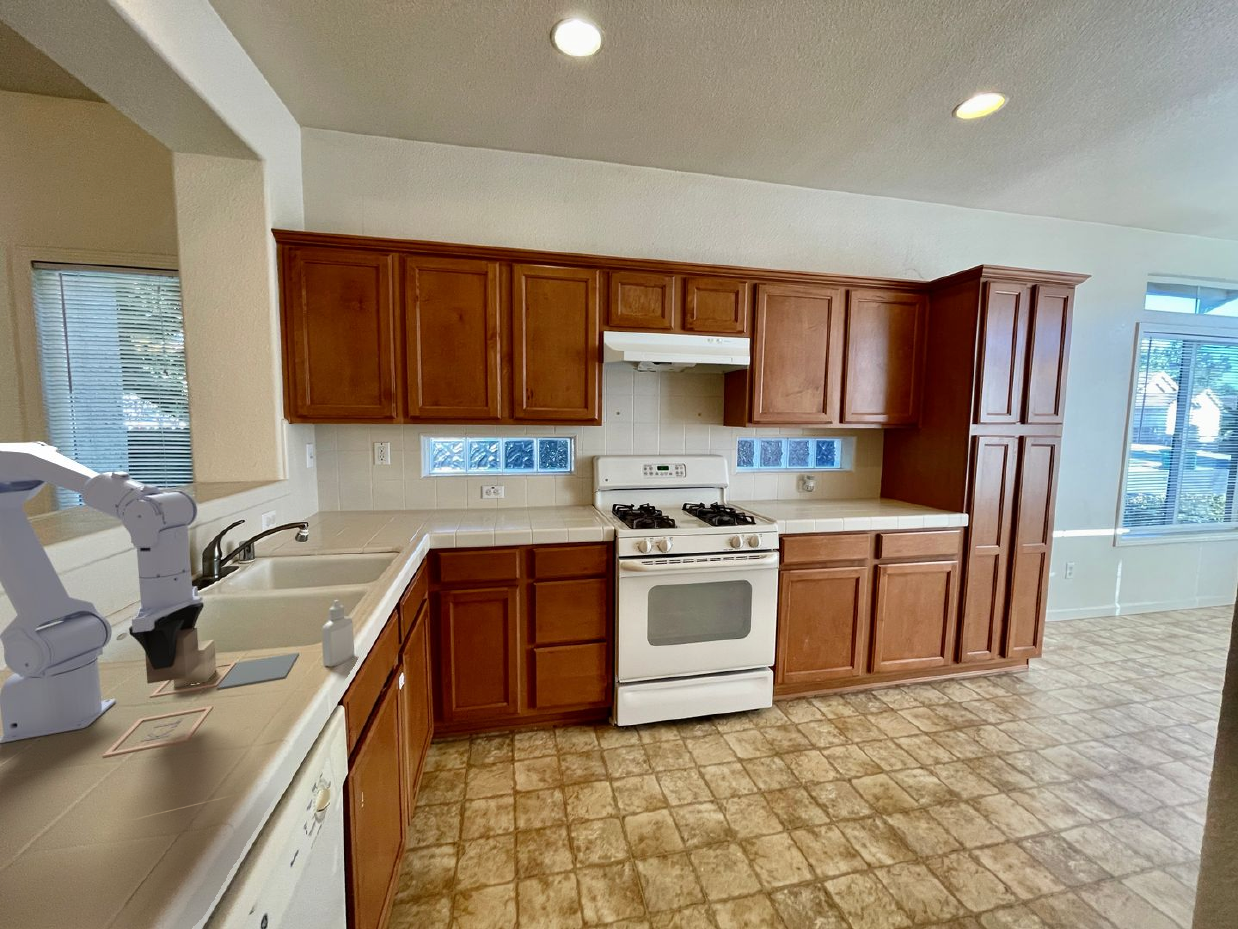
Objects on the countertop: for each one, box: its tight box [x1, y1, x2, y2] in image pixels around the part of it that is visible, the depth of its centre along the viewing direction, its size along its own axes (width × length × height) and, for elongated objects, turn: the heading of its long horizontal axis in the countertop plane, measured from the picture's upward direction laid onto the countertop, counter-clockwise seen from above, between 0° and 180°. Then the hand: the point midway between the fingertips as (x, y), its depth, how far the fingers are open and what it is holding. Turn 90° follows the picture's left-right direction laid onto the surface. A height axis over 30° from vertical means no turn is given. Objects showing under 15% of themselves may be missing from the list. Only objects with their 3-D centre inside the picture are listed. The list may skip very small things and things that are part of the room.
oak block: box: [173, 639, 217, 688], centre depth 87 cm, size 4×4×6 cm
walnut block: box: [144, 627, 199, 684], centre depth 73 cm, size 4×4×6 cm
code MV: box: [149, 661, 237, 698], centre depth 87 cm, size 9×9×1 cm
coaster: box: [216, 652, 300, 691], centre depth 90 cm, size 10×10×1 cm
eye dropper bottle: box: [321, 599, 355, 668], centre depth 93 cm, size 4×6×12 cm
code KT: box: [102, 705, 214, 758], centre depth 72 cm, size 9×9×1 cm
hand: (172, 659), depth 73 cm, fingers closed on walnut block, 4 cm apart
